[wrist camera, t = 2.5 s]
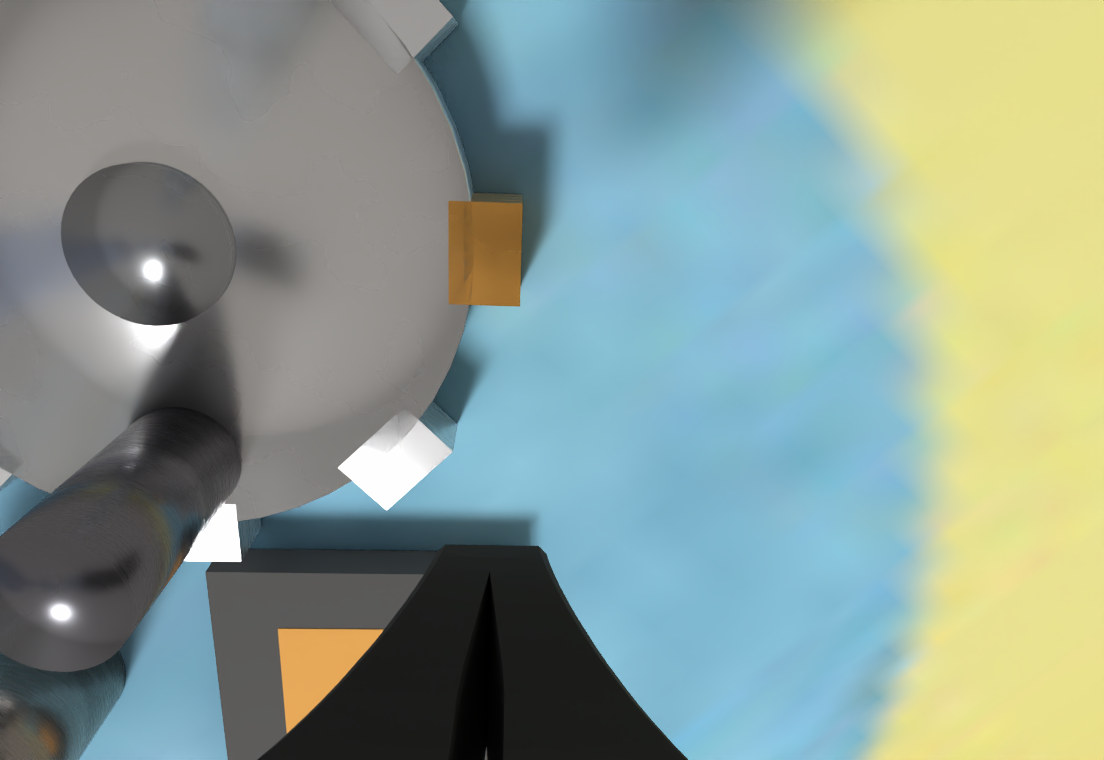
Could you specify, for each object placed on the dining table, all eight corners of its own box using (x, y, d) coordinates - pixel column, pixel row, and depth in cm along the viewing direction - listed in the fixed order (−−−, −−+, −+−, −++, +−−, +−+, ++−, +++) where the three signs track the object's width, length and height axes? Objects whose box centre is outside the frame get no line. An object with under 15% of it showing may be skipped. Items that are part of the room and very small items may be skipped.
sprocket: (-88, 521, 18) (-390, 734, 12) (-267, -184, 14) (-891, -410, 8) (512, 530, 19) (511, 734, 13) (531, -136, 15) (544, -305, 8)
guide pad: (245, 777, 21) (233, 809, 20) (221, 548, 19) (204, 572, 18) (509, 776, 22) (508, 808, 21) (515, 552, 19) (515, 576, 18)
